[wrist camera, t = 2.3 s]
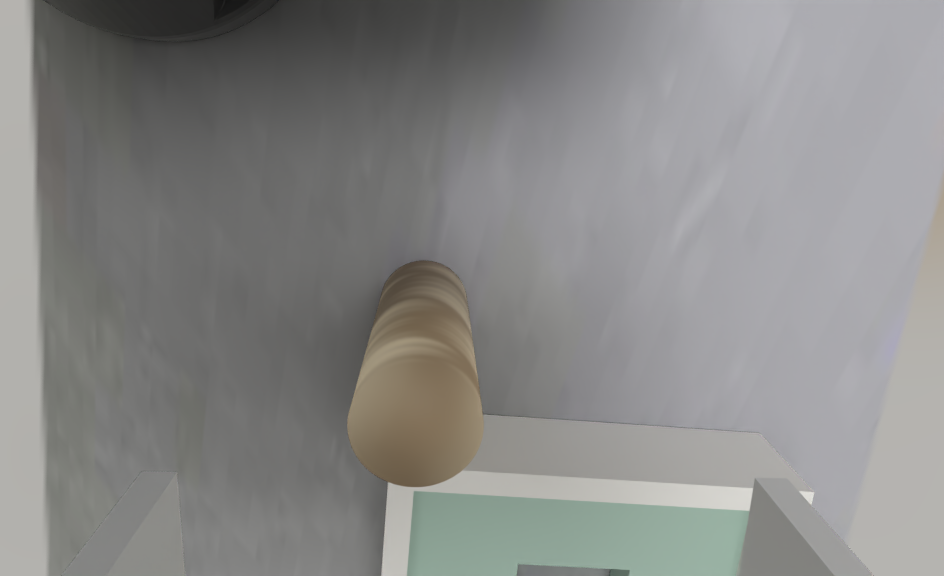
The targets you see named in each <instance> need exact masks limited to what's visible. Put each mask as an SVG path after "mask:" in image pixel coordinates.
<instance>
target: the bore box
mask: <svg viewBox="0 0 944 576" xmlns="http://www.w3.org/2000/svg"><path fill="white" fill-rule="evenodd" d="M483 420H484V431H483V437H482V441H481V444H480V447H479V449H478V451H477V453H476V455H475V456H474V458H473V459H472V461H471V462H470V463H469V464H468V465H467V466H466V467H465V468H464V469H463V470H462V471H461V472H460V473H458V474H457V475H455V476H454V477H452V478H450V479H448V480H446V481H444V482H442V483H439V484H436V485H431V486H426V487H405V486H400V485H395V484H392V483H389V482H388V490H387V504H386V518H385V532H384V546H383V560H382V574H381V576H517V568H518V564H524V565H543V566H562V567H581V568H600V569H611V570H610V576H739V573H740V566H741V560H742V554H743V548H744V542H745V536H746V529H747V523H748V517H749V511H750V505H751V499H752V492H753V486H754V480H755V478H787V479H788V480H789V481H790V482H791V483H792V484H793V485H794V487H795V488H796V489H797V490H798V491H799V492H800V493H801V494H802V496H803V497H804V498H805V499H806V500H807V501H808V502H809V503H810V504H812V500H813V496H814V491H813V490H812V489H811V488H810V487H809V486H808V485H807V484H806V482H805V481H804V480H803V479H802V478H801V477H800V476H799V475H798V474H797V473H796V472H795V471H794V470H793V468H792V467H791V466H790V465H789V464H788V463H787V462H786V461H785V460H784V459H783V458H782V457H781V456H780V454H779V453H778V452H777V451H776V450H775V449H774V448H773V447H772V446H771V445H770V444H769V443H768V442H767V441H766V439H765V438H764V437H763V436H762V435H761V434H760V433H753V432H738V431H723V430H708V429H693V428H678V427H664V426H649V425H634V424H619V423H604V422H589V421H574V420H560V419H545V418H530V417H515V416H500V415H485V414H483Z"/></svg>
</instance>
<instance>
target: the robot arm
mask: <svg viewBox="0 0 944 576" xmlns="http://www.w3.org/2000/svg"><path fill="white" fill-rule="evenodd" d="M44 1H45V2H47V3H48V4H50V5H52V6H53V7H55V8H56V9H58V10H60V11H62V12H64V13H65V14H67V15H69V16H71V17H73V18H75V19H77V20H79V21H81V22H84V23H86V24H88V25H91V26H93V27H96V28H99V29H102V30H105V31H108V32H112V33H116V34H120V35H125V36H130V37H136V38H142V39H148V40H155V41H169V42H172V41H191V40H199V39H205V38H209V37H213V36H217V35H220V34H223V33H226V32H229V31H232V30H234V29H236V28H238V27H241V26H243V25H245V24H246V23H248V22H250V21H252V20H254V19H255V18H257V17H258V16H260V15H261V14H263V13H264V12H265V11H267V10H268V9H269V8H270V7H272V6H273V5H274V4H275V3H276V2H277V1H278V0H44ZM61 576H185V565H184V552H183V540H182V527H181V515H180V502H179V490H178V478H177V472H163V471H142V472H141V473H140V474H139V475H138V477H137V478H136V479H135V481H134V482H133V483H132V484H131V486H130V487H129V488H128V490H127V491H126V492H125V494H124V495H123V496H122V497H121V499H120V500H119V501H118V503H117V504H116V505H115V507H114V508H113V509H112V510H111V512H110V513H109V514H108V516H107V517H106V518H105V519H104V521H103V522H102V523H101V525H100V526H99V527H98V529H97V530H96V531H95V532H94V534H93V535H92V536H91V538H90V539H89V540H88V541H87V543H86V544H85V545H84V547H83V548H82V549H81V551H80V552H79V553H78V554H77V556H76V557H75V558H74V560H73V561H72V562H71V563H70V565H69V566H68V567H67V569H66V570H65V571H64V573H63V574H62V575H61ZM739 576H874V575H873V574H872V573H871V572H870V570H869V569H868V568H867V567H866V566H865V565H864V564H863V563H862V562H861V560H860V559H859V558H858V557H857V556H856V555H855V554H854V553H853V552H852V550H850V548H849V547H848V546H847V545H846V544H845V543H844V541H843V540H842V539H841V538H840V537H839V536H838V535H837V534H836V532H835V531H834V530H833V529H832V528H831V527H830V526H829V525H828V524H827V522H826V521H825V520H824V519H823V518H822V517H821V516H820V515H819V513H818V512H817V511H816V510H815V509H814V508H813V507H812V506H811V504H810V503H809V502H808V501H807V500H806V499H805V498H804V497H803V496H802V494H801V493H800V492H799V491H798V490H797V489H796V488H795V487H794V485H793V484H792V483H791V482H790V481H789V480H788V479H787V478H755V480H754V486H753V492H752V499H751V505H750V511H749V517H748V523H747V529H746V536H745V542H744V548H743V554H742V560H741V566H740V573H739Z"/></svg>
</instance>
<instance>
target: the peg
mask: <svg viewBox="0 0 944 576" xmlns="http://www.w3.org/2000/svg"><path fill="white" fill-rule="evenodd" d="M347 426H348V436H349V440H350V444H351V447H352V449H353V451H354V453H355V455H356V456H357V458H358V459H359V461H360V462H361V463H362V464H363V465H364V466H365V467H366V468H367V469H368V470H369V471H370V472H371V473H373V474H374V475H376V476H377V477H379V478H381V479H383V480H385V481H387V482H389V483H392V484H395V485H400V486H405V487H426V486H431V485H436V484H439V483H442V482H444V481H446V480H448V479H450V478H452V477H454V476H455V475H457V474H458V473H460V472H461V471H462V470H463V469H464V468H465V467H466V466H467V465H468V464H469V463H470V462H471V461H472V459H473V458H474V456H475V455H476V453H477V451H478V449H479V447H480V444H481V441H482V437H483V431H484V420H483V412H482V404H481V397H480V390H479V383H478V375H477V368H476V361H475V354H474V346H473V339H472V332H471V325H470V317H469V310H468V303H467V296H466V291H465V288H464V286H463V284H462V282H461V280H460V279H459V277H458V276H457V275H456V274H455V273H454V272H453V271H452V270H450V269H449V268H448V267H446V266H444V265H442V264H440V263H436V262H433V261H415V262H411V263H408V264H405V265H404V266H402V267H400V268H399V269H397V270H396V271H395V272H394V273H393V274H392V275H391V276H390V277H389V278H388V280H387V281H386V283H385V285H384V288H383V291H382V294H381V298H380V301H379V305H378V309H377V312H376V316H375V320H374V323H373V327H372V331H371V334H370V338H369V341H368V345H367V349H366V352H365V356H364V360H363V363H362V367H361V370H360V374H359V378H358V381H357V385H356V389H355V392H354V396H353V400H352V403H351V407H350V410H349V414H348V422H347Z"/></svg>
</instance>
